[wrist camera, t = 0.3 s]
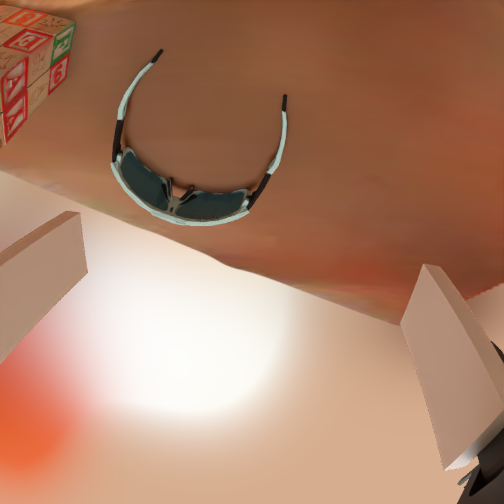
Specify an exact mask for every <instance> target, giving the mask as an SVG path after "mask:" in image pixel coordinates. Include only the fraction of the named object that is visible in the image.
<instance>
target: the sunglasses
mask: <svg viewBox="0 0 504 504" xmlns="http://www.w3.org/2000/svg"><path fill="white" fill-rule="evenodd" d="M162 53H163V50H162V49H161V50H160V51H159V52H158V53H157V54H156V56H155V57H154V58H153V60H152V61H151V62H150V63H149V64H148V65H147V66H146V67H144V68H143V69H142V70H141V71H140V72H139V74H138V75H137V76H136V78H135V79H134V81H133V82H132V84H131V85H130V87H129V88H128V90H127V91H126V93H125V95H124V97H123V99H122V102H121V104H120V107H119V109H118V120H117V124H116V129H115V135H114V142H113V152H112V161H113V163H110V165H111V169H112V171H113V174H114V176H115V177H116V179H117V181H118V182H119V183H120V185H121V186H122V188H123V189H124V190H125V192H126V193H127V194H128V195H129V196H130V197H131V198H133V199H134V200H135V201H136V202H137V203H138V204H139V205H140V206H141V207H143V208H144V209H146V210H147V211H149V212H151V214H152V215H154V216H156V217H159V218H161V219H164V220H166V221H168V222H171V223H175V224H179V225H192V226H211V225H217V224H223V223H227V222H230V221H234V220H236V219H239V218H241V217H243V216H244V215H246V214H248V213H249V211H248V210H249V209H250V208H251V207H252V205H253V204H254V203H255V201H256V200H257V198H258V197H259V195H260V194H261V192H262V191H263V189H264V188H265V186H266V184H267V182H268V180H269V179H270V177H271V175H272V174H273V172H274V171H275V170H276V168H277V167H278V166H279V163H280V159H281V156H282V152H283V149H284V144H285V140H286V128H287V120H286V101H287V95H284V96H283V103H282V136H281V141H280V144H279V148H278V151H277V154H276V157H275V158H274V160H273V161H272V163H271V164H270V166H269V167H268V169H267V173H266V174H265V176H264V178H263V180H262V181H261V183H260V185H259V187H258V189H257V190H256V191H254V192H253V193H252V195H251V192H250V191H249V190H247V189H245V188H244V189H240V190H237V191H233V192H229V193H207V192H203V191H201V190H197V191H193V190H194V188H193V187H192V188H191V189H189V190H188V191H187V192H186V193H185V194H184V195H183V196H182V197H181V198H178V197H175V196H173V194H172V182H171V180H169V181H168V182H167V181H166V179H165V178H163V177H162V176H161V177H160V176H158V175H156V174H155V173H153V172H152V171H151V170H149V169H148V168H147V167H146V166H144V165H143V164H142V163H141V162H140V161H139V160H138V159H137V158H136V157H135V156H136V155H135V154H134V152H133V150H132V149H131V148H129V147H124V148H123V149H121V144H120V140H121V134H122V128H123V123H124V118H125V114H126V107H127V102H128V100H129V97H130V95H131V93H132V91H133V89H134V88H135V86H136V84H137V82H138V81H139V79H140V78H141V77H142V76H143V75H144V74H145V73H146V71H147V70H148V69H149V68H150V67H151V66H152V65H153V64H154V63H155V62H156V61H157V59H158V58H159V56H160V55H161V54H162Z"/></svg>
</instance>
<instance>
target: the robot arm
mask: <svg viewBox="0 0 504 504" xmlns="http://www.w3.org/2000/svg"><path fill="white" fill-rule="evenodd" d="M87 273H88V271H87V264H86V258H85V251H84V243H83V235H82V226H81V217H80V213H79V212H72V211H65V212H63V213H62V214H60V215H58V216H57V217H55V218H53V219H52V220H50V221H48V222H47V223H45V224H44V225H42V226H40V227H39V228H37V229H35V230H34V231H32V232H31V233H29V234H28V235H26V236H24V237H23V238H21V239H20V240H18V241H17V242H15V243H14V244H12V245H11V246H9V247H8V248H7V249H5V250H4V251H2V252H1V253H0V364H1V363H2V362H3V361H4V359H5V358H6V357H7V356H8V355H9V354H10V353H11V351H12V350H13V349H14V348H15V347H16V346H17V345H18V344H19V343H20V341H21V340H22V339H23V338H24V337H25V336H26V335H27V334H28V333H29V332H30V331H31V329H32V328H33V327H34V326H35V325H36V324H37V323H38V322H39V321H40V320H41V319H42V318H43V317H44V316H45V315H46V314H47V313H48V312H49V311H50V310H51V309H52V307H54V306H55V305H56V303H57V302H58V301H59V300H60V299H61V298H62V297H63V296H64V295H65V294H67V292H69V291H70V289H72V288H73V287H74V286H75V285H76V284H77V283H78V282H79V281H80V280H81V279H82V278H83V277H84V276H85V275H86V274H87ZM400 326H401V329H402V332H403V334H404V337H405V340H406V342H407V345H408V348H409V351H410V354H411V357H412V360H413V363H414V366H415V369H416V372H417V375H418V378H419V381H420V384H421V387H422V390H423V394H424V397H425V401H426V404H427V407H428V411H429V415H430V418H431V421H432V425H433V429H434V433H435V437H436V440H437V445H438V449H439V453H440V457H441V462H442V466H443V470H444V471H445V470H451V469H456V468H462V467H465V466H466V465H467V464H468V463H469V462H471V461H472V460H473V459H474V458H475V457H476V456H478V460H479V465H477V466H476V467H475V468H474V469H473V470H472V471H470V472H469V473H468V474H467V475H466V476H464V477H463V478H462V479H461V480H460V481H459V483H458V485H461V484H463V483H464V482H465V481H466V480H467V479H469V480H468V483H467V485H466V486H465V487H464V488H465V489H464V491H463V493H462V495H461V497H460V499H459V501H458V503H457V504H504V354H503V352H502V351H501V350H500V349H499V348H498V347H497V346H496V345H495V344H494V343H493V342H492V341H490V339H489V338H488V336H487V334H486V333H485V331H484V330H483V328H482V326H481V325H480V323H479V322H478V320H477V319H476V317H475V316H474V314H473V313H472V311H471V309H470V308H469V306H468V305H467V303H466V302H465V300H464V299H463V298H462V296H461V295H460V293H459V292H458V290H457V289H456V287H455V286H454V285H453V283H452V282H451V280H450V279H449V278H448V276H447V275H446V274H445V272H444V271H443V270H442V268H441V267H440V266H434V265H429V264H423V266H422V269H421V272H420V275H419V277H418V280H417V283H416V285H415V288H414V291H413V293H412V296H411V298H410V301H409V303H408V306H407V308H406V311H405V313H404V315H403V318H402V320H401V322H400Z"/></svg>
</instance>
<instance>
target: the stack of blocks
mask: <svg viewBox="0 0 504 504" xmlns="http://www.w3.org/2000/svg"><path fill="white" fill-rule="evenodd" d="M75 25H76V22H75V21H72V20H69V19H65V18H61V17H57V16H53V15H49V14H48V13H44V12H39V11H35V10H30V9H23V8H19V7H14V6H7V5H2V6H0V149H1V148H2V146H3V145H4V144H7V142H8V141H9V140H10V139H11V138H12V137H13V135H14V134H15V133H16V132H17V130H18V129H19V128H20V127H21V126H22V124H23V123H24V122H25V121H26V120H27V117H29V116H30V114H31V113H32V112H33V111H34V110H35V109H36V108H37V107H38V106H39V105H40V103H41V102H42V101H43V100H44V99H45V98H46V97H47V96H48V95H50V94H51V93H52V92H53V91H54V90H55V89H56V88H57V87H58V86H59V85H60V84H61V83H62V82H63V81H64V80H65V79H66V73H67V67H68V61H69V56H70V48H71V43H72V38H73V34H74V29H75Z"/></svg>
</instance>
